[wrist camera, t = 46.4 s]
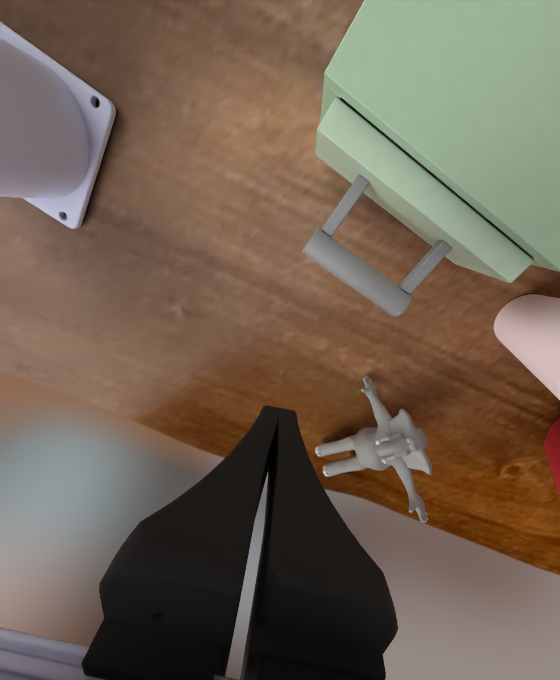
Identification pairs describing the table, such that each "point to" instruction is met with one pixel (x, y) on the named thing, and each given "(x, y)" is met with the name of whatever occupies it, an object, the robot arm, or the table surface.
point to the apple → (554, 451)
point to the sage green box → (466, 102)
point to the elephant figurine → (384, 449)
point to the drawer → (401, 213)
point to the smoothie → (533, 335)
